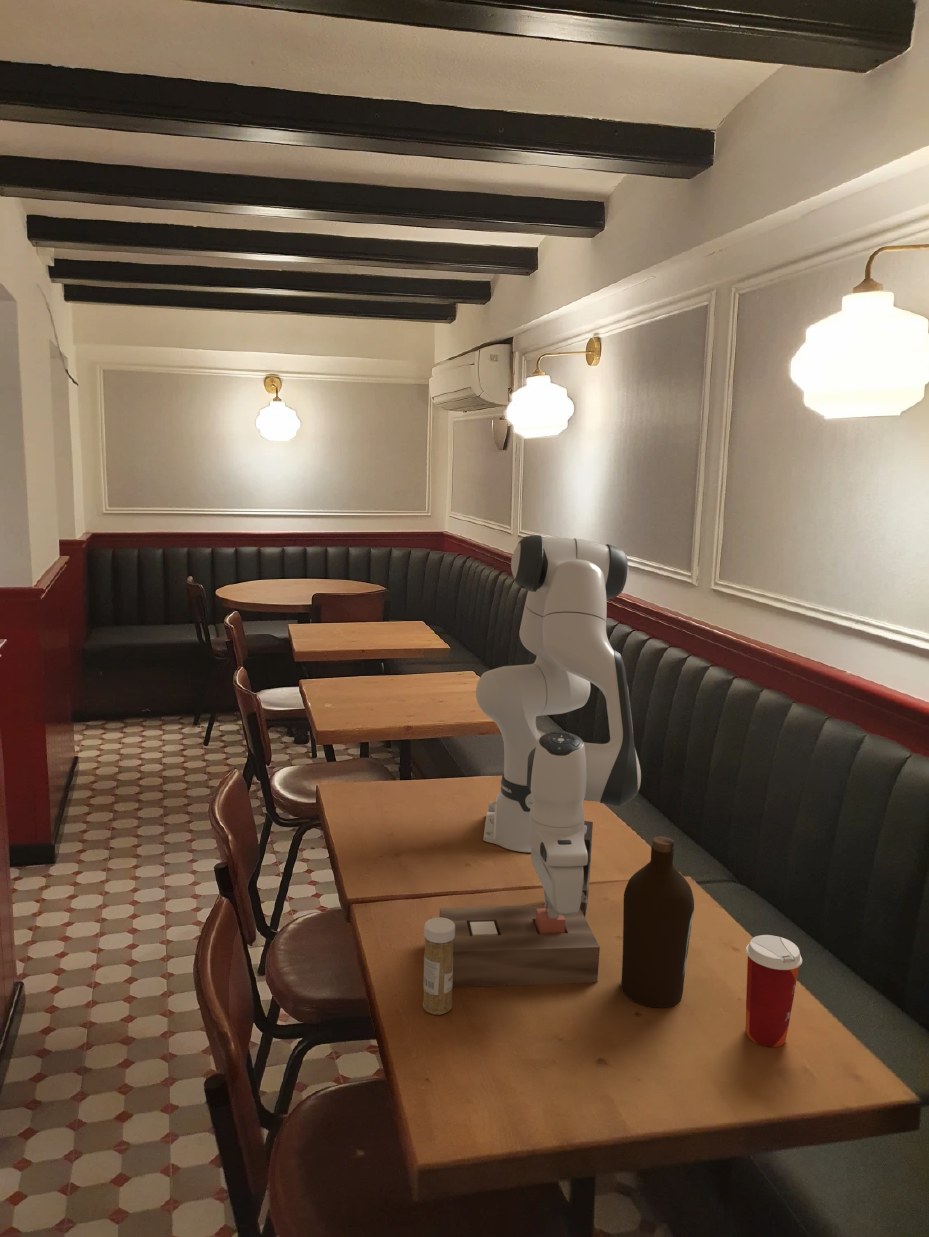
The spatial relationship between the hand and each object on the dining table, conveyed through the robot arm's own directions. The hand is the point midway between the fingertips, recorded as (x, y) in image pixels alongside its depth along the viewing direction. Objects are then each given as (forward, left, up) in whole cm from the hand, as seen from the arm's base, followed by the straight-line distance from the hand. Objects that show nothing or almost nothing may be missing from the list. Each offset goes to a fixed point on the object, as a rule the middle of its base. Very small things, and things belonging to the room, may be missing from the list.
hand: (551, 914), depth 149 cm
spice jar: (+12, -20, -8) cm, 24 cm away
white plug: (0, -11, -8) cm, 14 cm away
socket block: (0, -6, -8) cm, 10 cm away
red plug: (0, 0, -6) cm, 6 cm away
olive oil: (+10, +14, -8) cm, 19 cm away
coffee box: (-16, +7, -8) cm, 20 cm away
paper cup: (+22, +27, -8) cm, 36 cm away
